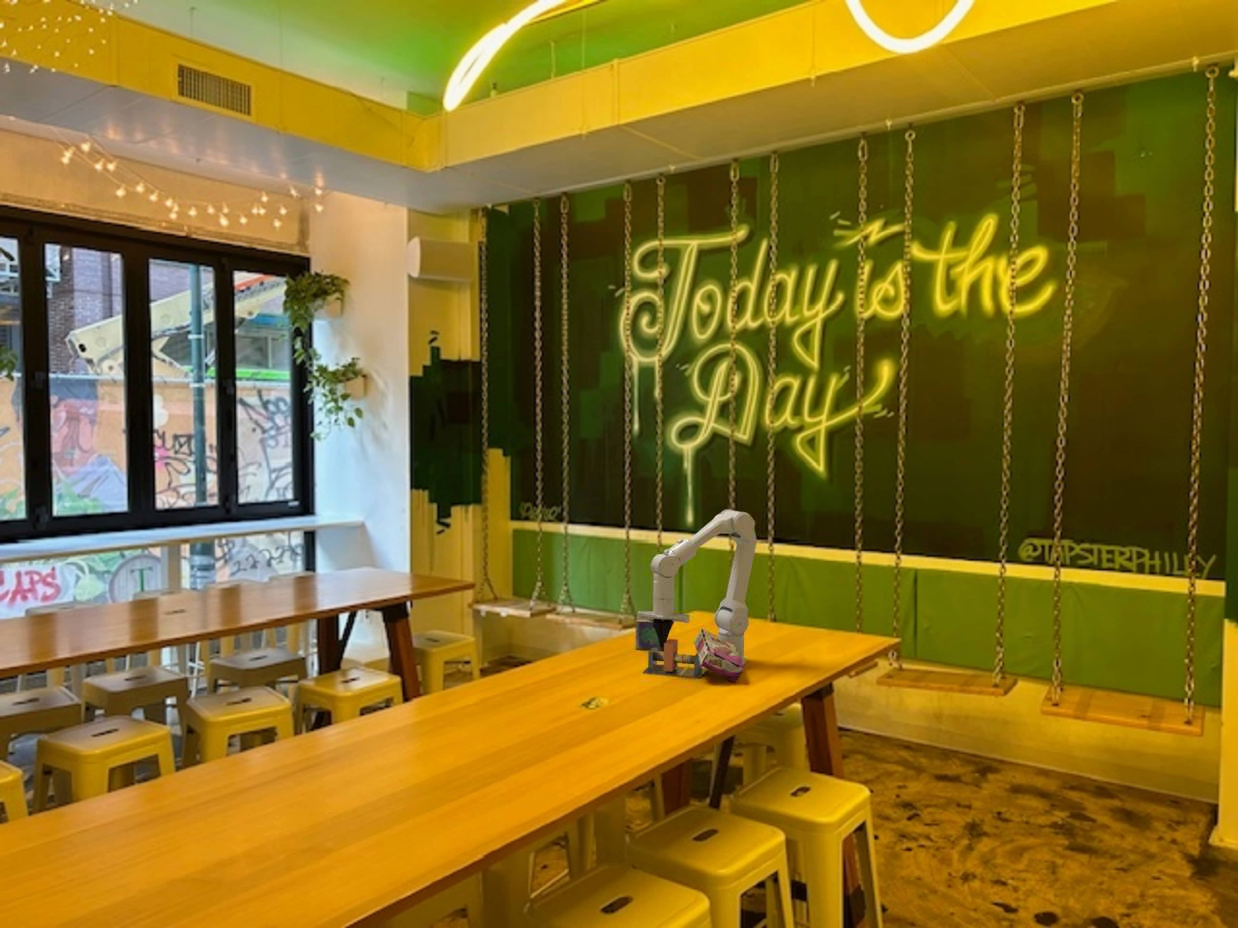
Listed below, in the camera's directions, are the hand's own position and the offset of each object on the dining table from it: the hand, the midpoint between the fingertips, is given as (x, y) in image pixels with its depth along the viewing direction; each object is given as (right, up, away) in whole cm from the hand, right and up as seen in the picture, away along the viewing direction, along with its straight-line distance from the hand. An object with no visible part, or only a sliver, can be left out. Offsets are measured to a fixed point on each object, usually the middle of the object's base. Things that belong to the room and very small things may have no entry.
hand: (662, 646), depth 258 cm
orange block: (+2, -7, 0) cm, 7 cm away
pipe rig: (+3, -7, -1) cm, 8 cm away
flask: (-3, -6, +24) cm, 25 cm away
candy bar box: (+15, -3, -12) cm, 20 cm away
